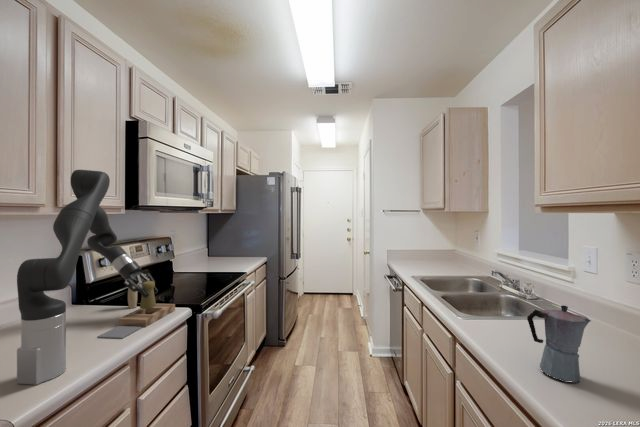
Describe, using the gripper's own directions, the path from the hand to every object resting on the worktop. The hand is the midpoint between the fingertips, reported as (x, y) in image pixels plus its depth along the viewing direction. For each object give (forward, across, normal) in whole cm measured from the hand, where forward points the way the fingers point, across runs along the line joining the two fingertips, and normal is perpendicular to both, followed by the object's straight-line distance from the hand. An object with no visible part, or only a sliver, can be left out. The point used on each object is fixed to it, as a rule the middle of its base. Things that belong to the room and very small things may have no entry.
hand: (152, 294), depth 127 cm
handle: (-6, +12, +21) cm, 25 cm away
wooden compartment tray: (+6, 0, +9) cm, 11 cm away
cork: (+3, 0, +5) cm, 6 cm away
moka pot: (+110, -32, -95) cm, 149 cm away
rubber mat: (+6, -16, +9) cm, 19 cm away
